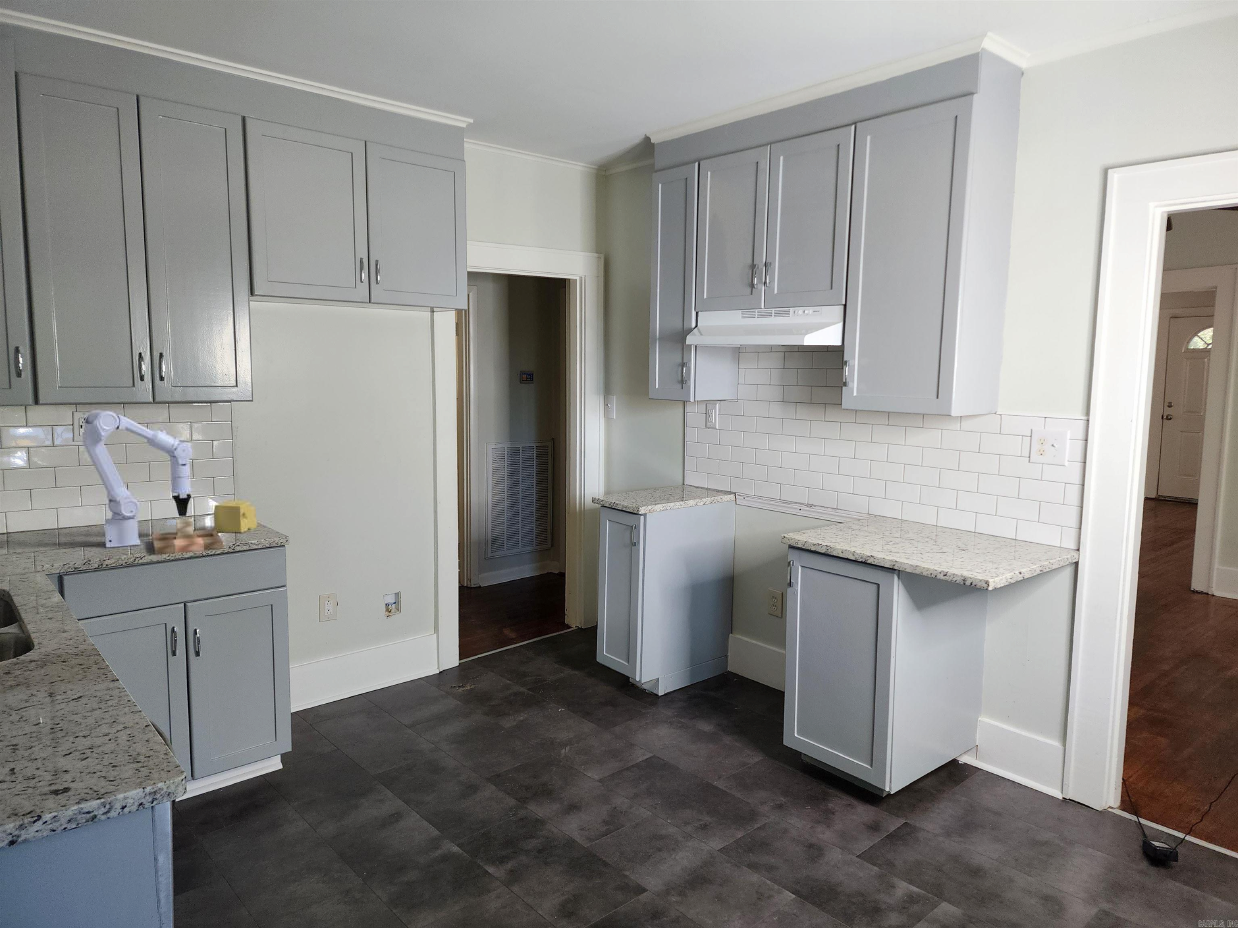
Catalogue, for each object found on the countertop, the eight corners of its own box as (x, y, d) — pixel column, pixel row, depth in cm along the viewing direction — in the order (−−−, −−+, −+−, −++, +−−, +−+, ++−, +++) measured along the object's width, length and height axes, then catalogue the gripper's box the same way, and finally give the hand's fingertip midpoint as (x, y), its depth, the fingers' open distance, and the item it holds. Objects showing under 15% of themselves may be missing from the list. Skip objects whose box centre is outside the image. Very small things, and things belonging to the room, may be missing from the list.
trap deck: (155, 554, 253) (155, 546, 253) (152, 541, 272) (151, 534, 272) (223, 548, 263) (222, 541, 263) (215, 536, 282) (215, 529, 282)
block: (177, 535, 270) (177, 522, 270) (176, 533, 274) (176, 519, 273) (193, 534, 272) (192, 521, 272) (191, 531, 276) (191, 518, 276)
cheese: (257, 528, 298) (256, 500, 297) (241, 533, 288) (240, 505, 286) (230, 526, 299) (229, 499, 298) (213, 532, 289) (212, 504, 287)
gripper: (195, 478, 274) (197, 518, 276) (191, 473, 287) (193, 511, 288) (172, 479, 271) (173, 520, 272) (169, 474, 283) (170, 513, 284)
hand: (182, 515), depth 280 cm, fingers closed
